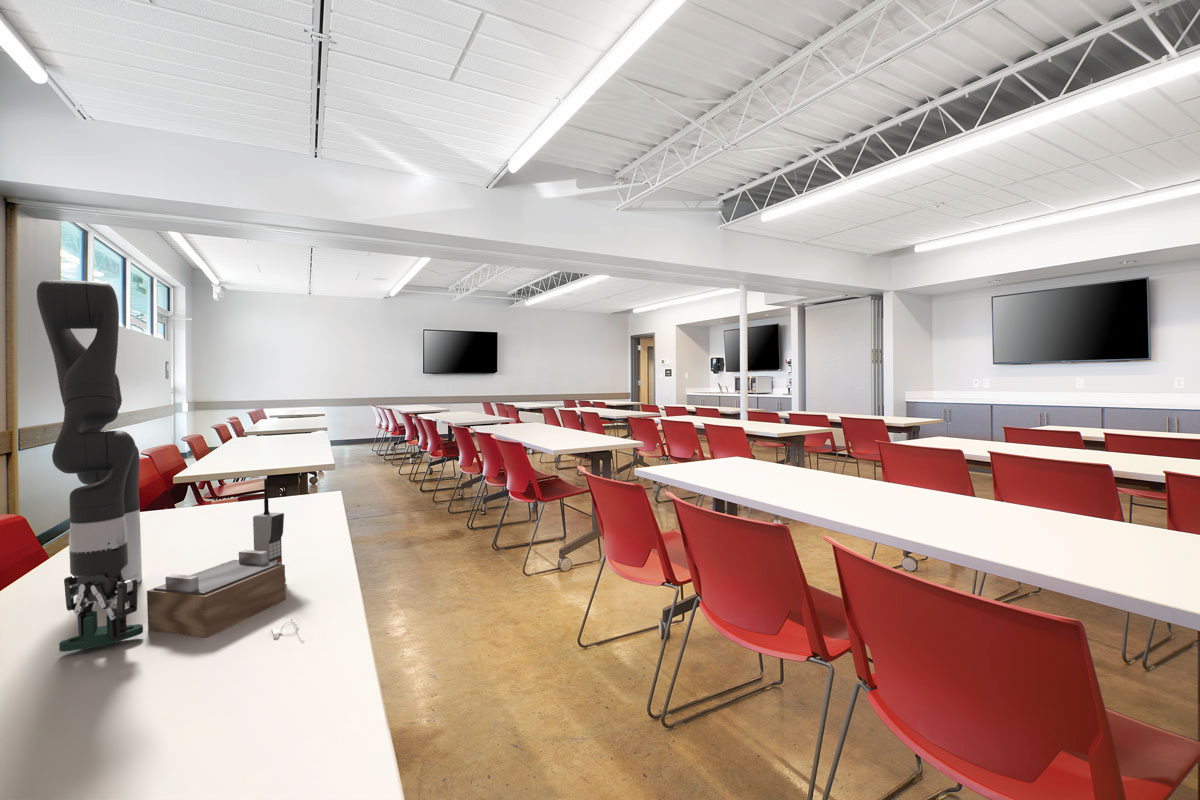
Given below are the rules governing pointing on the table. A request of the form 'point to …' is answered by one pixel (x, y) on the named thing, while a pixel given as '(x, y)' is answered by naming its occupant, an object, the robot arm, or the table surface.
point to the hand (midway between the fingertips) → (102, 635)
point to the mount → (96, 634)
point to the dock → (216, 596)
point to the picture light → (276, 632)
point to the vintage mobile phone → (268, 532)
